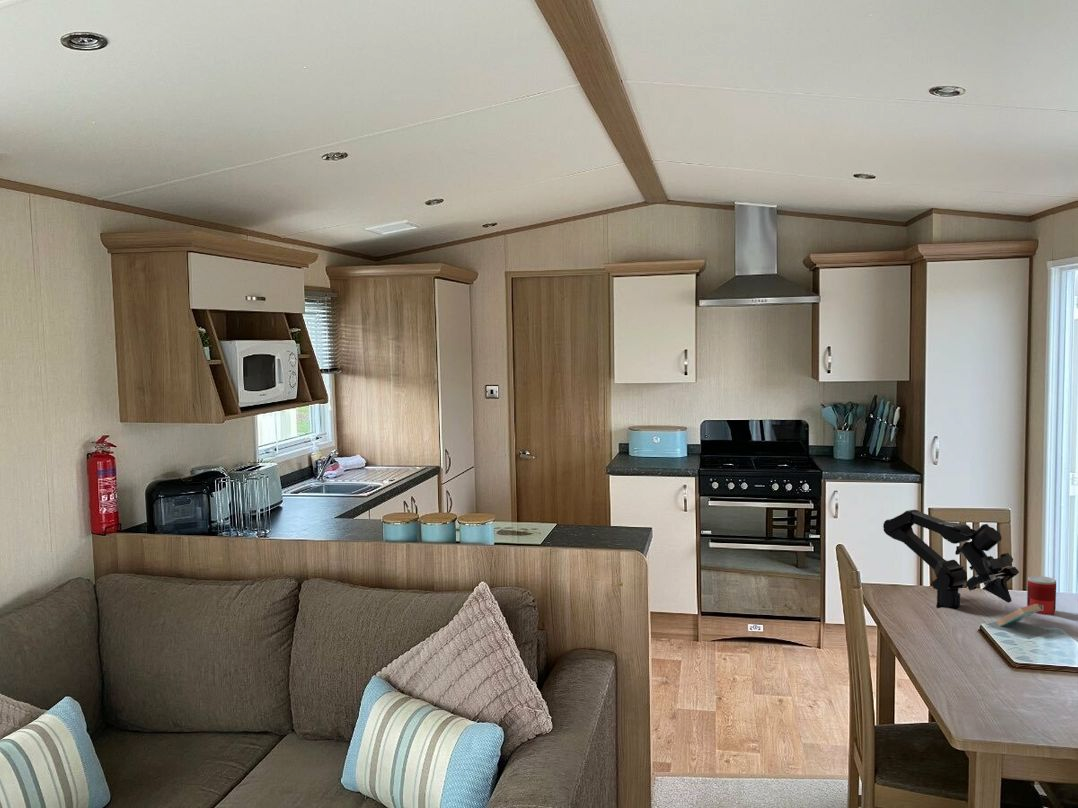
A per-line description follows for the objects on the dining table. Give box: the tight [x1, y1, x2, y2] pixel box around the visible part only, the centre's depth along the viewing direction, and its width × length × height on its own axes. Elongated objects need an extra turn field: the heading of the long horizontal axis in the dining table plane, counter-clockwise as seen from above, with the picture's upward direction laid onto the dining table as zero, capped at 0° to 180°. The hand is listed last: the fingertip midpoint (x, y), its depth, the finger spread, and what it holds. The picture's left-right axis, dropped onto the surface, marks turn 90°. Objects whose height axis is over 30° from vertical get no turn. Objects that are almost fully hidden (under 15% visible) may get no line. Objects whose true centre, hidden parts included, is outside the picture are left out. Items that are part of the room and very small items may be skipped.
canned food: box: [1026, 575, 1057, 616], centre depth 273 cm, size 8×8×11 cm
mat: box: [985, 620, 1054, 639], centre depth 258 cm, size 14×12×1 cm
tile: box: [996, 604, 1040, 626], centre depth 258 cm, size 2×8×10 cm
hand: (1010, 601), depth 260 cm, fingers closed
